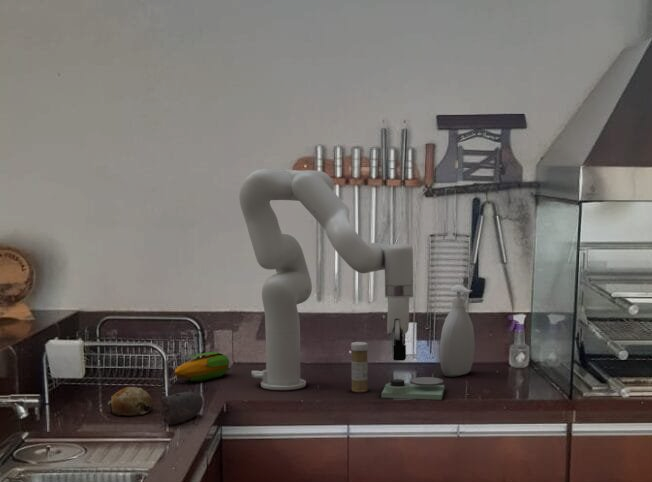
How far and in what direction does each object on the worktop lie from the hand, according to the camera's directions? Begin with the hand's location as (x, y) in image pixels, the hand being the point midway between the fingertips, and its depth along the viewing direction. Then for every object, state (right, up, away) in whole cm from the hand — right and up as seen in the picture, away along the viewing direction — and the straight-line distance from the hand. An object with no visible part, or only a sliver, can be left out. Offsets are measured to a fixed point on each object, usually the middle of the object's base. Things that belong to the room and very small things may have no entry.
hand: (399, 359), depth 240 cm
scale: (+4, -9, +4) cm, 11 cm away
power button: (-1, -7, +1) cm, 7 cm away
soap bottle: (+18, -5, +30) cm, 35 cm away
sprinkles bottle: (-11, -9, +7) cm, 16 cm away
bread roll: (-67, -13, -18) cm, 70 cm away
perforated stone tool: (-52, -14, -26) cm, 59 cm away
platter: (+7, -6, +5) cm, 11 cm away
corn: (-57, -6, +20) cm, 61 cm away
